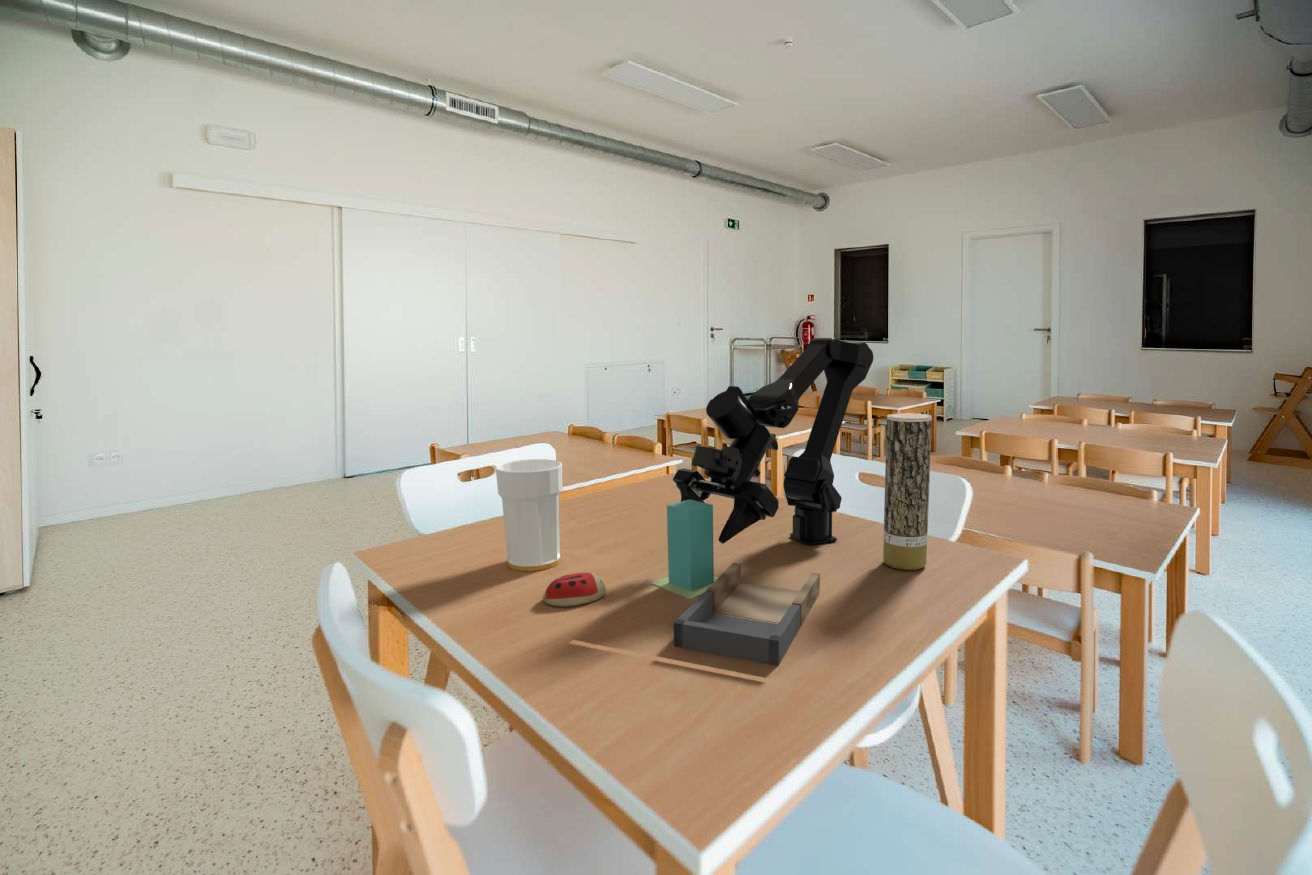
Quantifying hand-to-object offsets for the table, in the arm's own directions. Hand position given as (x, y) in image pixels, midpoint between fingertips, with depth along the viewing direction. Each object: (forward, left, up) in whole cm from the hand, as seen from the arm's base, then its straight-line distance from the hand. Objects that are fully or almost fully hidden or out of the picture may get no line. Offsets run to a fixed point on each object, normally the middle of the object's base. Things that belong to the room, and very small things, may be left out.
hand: (698, 535), depth 106 cm
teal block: (+2, +1, -7) cm, 7 cm away
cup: (+23, -20, -8) cm, 32 cm away
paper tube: (-34, +7, -8) cm, 36 cm away
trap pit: (+3, +20, -8) cm, 22 cm away
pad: (+2, +1, -8) cm, 8 cm away
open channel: (-5, +12, -8) cm, 15 cm away
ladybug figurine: (+20, -2, -8) cm, 21 cm away
